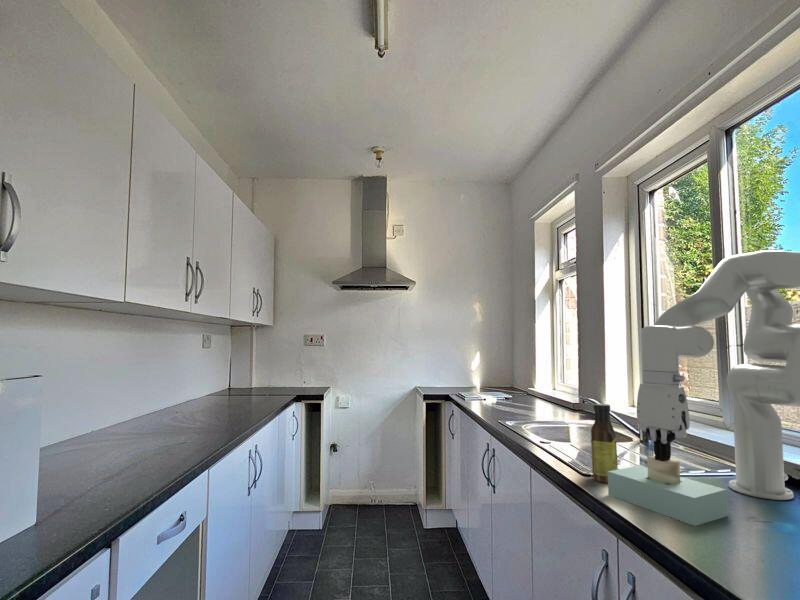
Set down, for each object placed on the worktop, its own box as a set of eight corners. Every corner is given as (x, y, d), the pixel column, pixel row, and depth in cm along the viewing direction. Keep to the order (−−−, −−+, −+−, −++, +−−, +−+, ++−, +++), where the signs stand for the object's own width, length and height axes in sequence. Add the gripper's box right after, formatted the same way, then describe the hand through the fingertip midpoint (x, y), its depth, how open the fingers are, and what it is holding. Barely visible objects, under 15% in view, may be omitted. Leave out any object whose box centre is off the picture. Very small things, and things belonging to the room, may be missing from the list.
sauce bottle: (622, 484, 117) (621, 406, 118) (599, 484, 116) (597, 406, 118) (609, 476, 123) (607, 402, 125) (587, 476, 123) (585, 402, 125)
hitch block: (640, 487, 114) (639, 465, 115) (727, 516, 97) (726, 489, 97) (608, 494, 109) (607, 471, 109) (695, 526, 91) (694, 497, 91)
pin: (659, 495, 107) (658, 454, 108) (687, 505, 101) (685, 461, 102) (642, 500, 104) (641, 457, 105) (669, 509, 98) (668, 464, 99)
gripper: (703, 381, 100) (706, 466, 98) (640, 375, 113) (642, 450, 112) (683, 382, 97) (686, 470, 95) (620, 376, 110) (622, 453, 108)
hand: (662, 459), depth 103 cm, fingers closed
